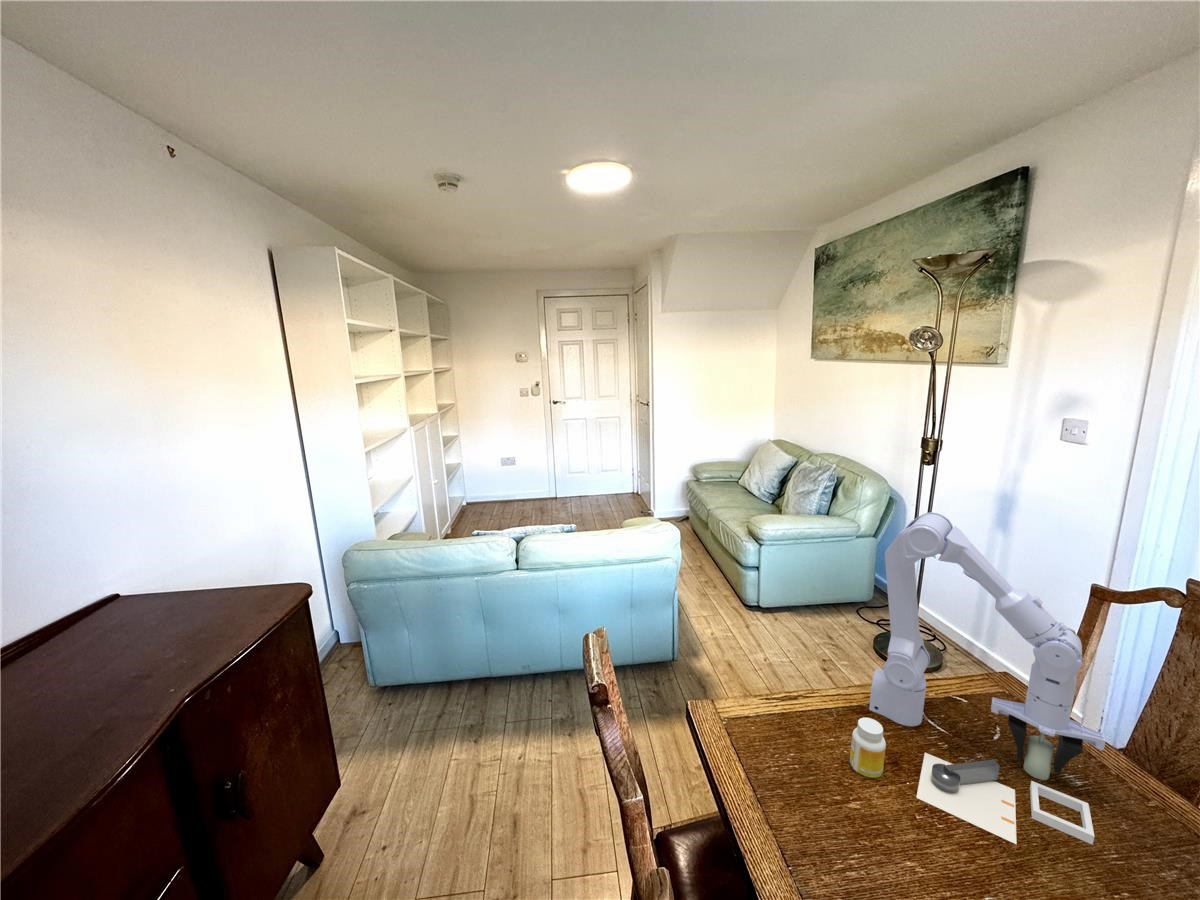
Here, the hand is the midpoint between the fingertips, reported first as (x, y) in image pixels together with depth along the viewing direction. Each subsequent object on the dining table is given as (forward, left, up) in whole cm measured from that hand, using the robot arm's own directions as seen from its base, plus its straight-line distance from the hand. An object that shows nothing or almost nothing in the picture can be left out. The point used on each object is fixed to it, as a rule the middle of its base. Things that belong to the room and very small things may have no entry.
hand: (1037, 762), depth 86 cm
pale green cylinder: (0, 0, -3) cm, 3 cm away
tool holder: (+3, -8, -3) cm, 9 cm away
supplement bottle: (-24, -17, -3) cm, 30 cm away
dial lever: (-10, -10, -2) cm, 14 cm away
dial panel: (-9, -13, -3) cm, 16 cm away
